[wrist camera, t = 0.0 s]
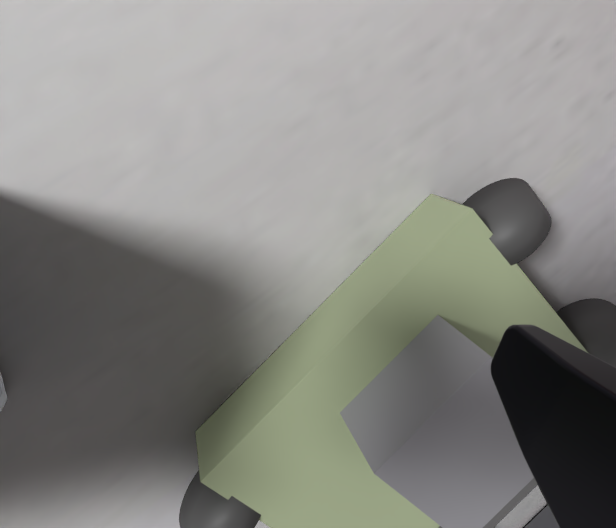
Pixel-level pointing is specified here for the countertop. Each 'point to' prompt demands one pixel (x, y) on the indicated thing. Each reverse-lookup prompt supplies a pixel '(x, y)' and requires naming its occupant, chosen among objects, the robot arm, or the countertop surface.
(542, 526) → the dark grey stepped block
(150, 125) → the countertop surface
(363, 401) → the toy flatbed truck
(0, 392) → the tea box
